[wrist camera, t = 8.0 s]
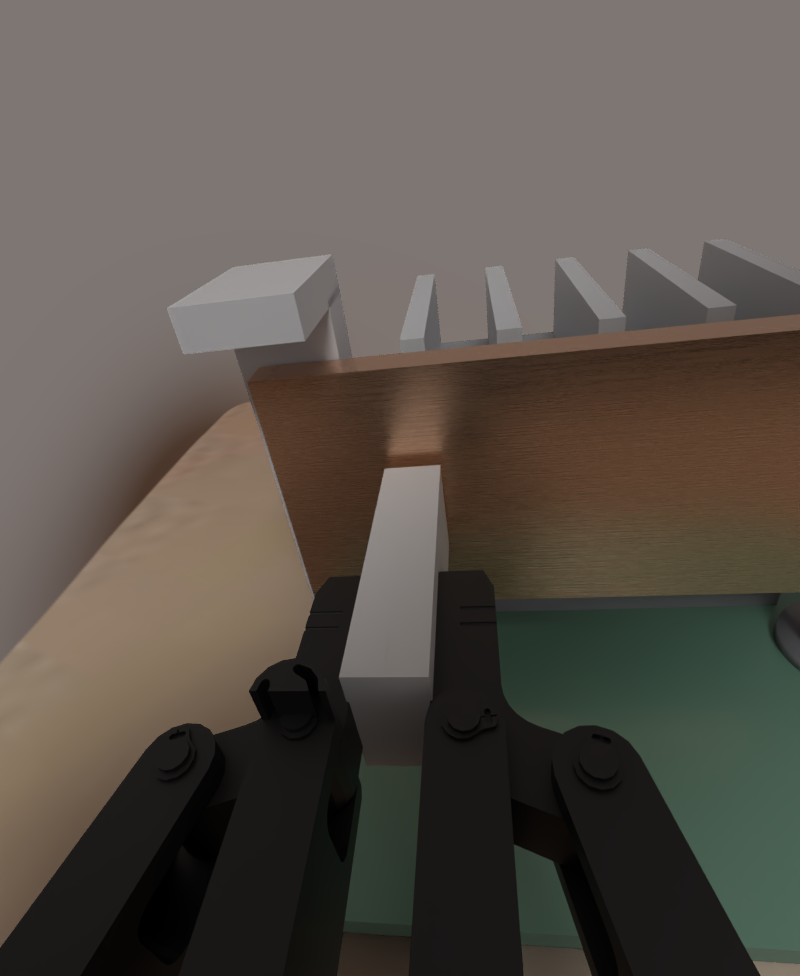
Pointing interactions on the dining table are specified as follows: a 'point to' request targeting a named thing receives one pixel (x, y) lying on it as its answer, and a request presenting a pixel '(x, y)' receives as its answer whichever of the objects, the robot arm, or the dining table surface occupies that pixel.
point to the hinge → (560, 457)
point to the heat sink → (586, 613)
